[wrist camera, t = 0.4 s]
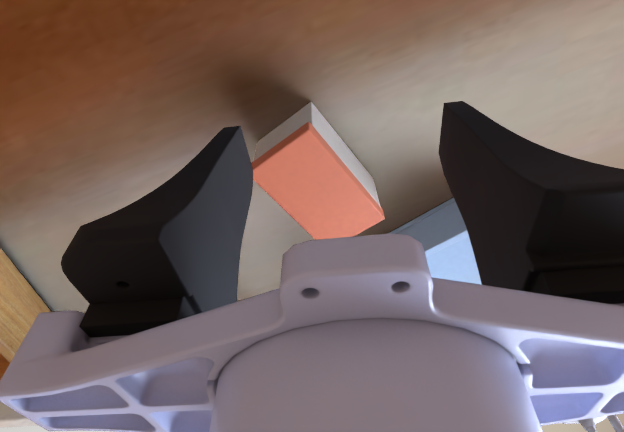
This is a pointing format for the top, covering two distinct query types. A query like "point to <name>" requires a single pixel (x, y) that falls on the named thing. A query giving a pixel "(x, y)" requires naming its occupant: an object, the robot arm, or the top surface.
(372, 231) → the top surface
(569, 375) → the robot arm
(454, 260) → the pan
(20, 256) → the top surface
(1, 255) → the tray
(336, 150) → the sushi
